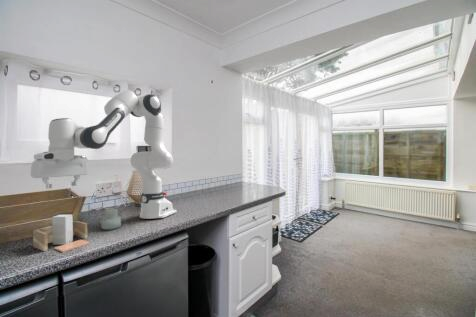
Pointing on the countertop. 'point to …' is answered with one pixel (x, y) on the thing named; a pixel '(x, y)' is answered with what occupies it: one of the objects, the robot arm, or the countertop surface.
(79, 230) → the open wooden frame
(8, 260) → the countertop surface
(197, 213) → the countertop surface
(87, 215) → the countertop surface
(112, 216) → the air freshener
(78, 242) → the tile
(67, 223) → the skincare box
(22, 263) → the countertop surface
